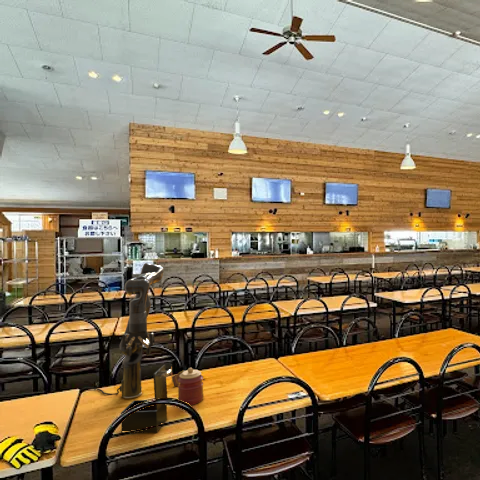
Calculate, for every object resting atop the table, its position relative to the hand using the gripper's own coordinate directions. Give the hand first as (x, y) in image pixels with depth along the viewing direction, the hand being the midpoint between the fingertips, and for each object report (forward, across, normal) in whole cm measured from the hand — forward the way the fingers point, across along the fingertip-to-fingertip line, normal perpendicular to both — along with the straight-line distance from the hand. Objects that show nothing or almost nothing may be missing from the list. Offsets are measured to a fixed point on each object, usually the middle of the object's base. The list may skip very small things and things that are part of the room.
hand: (138, 355), depth 179 cm
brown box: (+32, -8, -48) cm, 59 cm away
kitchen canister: (+32, -17, -23) cm, 43 cm away
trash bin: (+32, -4, +4) cm, 33 cm away
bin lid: (+14, -11, +4) cm, 18 cm away
